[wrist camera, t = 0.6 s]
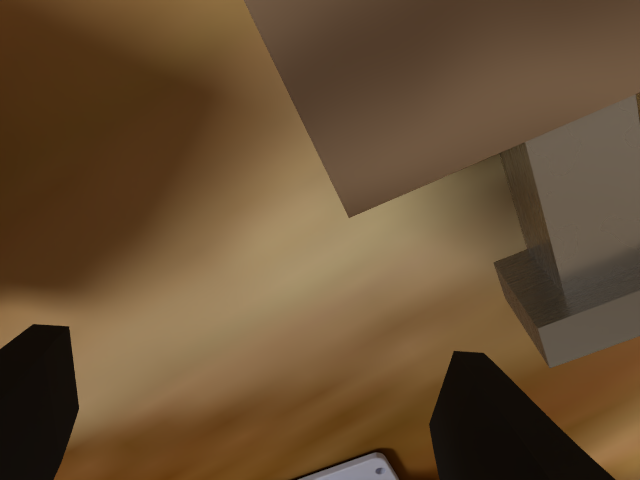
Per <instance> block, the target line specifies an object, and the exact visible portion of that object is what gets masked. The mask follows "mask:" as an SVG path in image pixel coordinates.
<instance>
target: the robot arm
mask: <svg viewBox="0 0 640 480" xmlns="http://www.w3.org/2000/svg"><path fill="white" fill-rule="evenodd" d="M78 410H79V404H78V396H77V388H76V379H75V371H74V363H73V355H72V347H71V339H70V330H69V326H53V325H37V324H33V325H32V326H30V327H29V328H28V329H26V330H25V331H23V332H22V333H21V334H20V335H18V336H17V337H16V338H14V339H13V340H12V341H10V342H9V343H8V344H6V345H5V346H4V347H2V348H1V349H0V480H53V479H54V477H55V475H56V473H57V471H58V468H59V466H60V464H61V461H62V459H63V456H64V453H65V450H66V447H67V444H68V441H69V438H70V435H71V432H72V429H73V426H74V423H75V420H76V417H77V413H78ZM429 426H430V432H431V438H432V444H433V449H434V455H435V460H436V464H437V469H438V474H439V478H440V480H615V479H614V478H613V477H612V476H611V475H610V474H609V473H608V472H606V471H605V470H604V469H603V468H602V467H601V466H600V465H599V464H597V463H596V462H595V461H594V460H593V459H592V458H591V457H590V456H589V455H588V454H587V453H586V452H584V451H583V450H582V449H581V448H580V447H579V446H578V445H577V444H576V443H575V442H574V441H573V440H572V439H571V438H570V437H569V436H567V435H566V434H565V433H564V432H563V431H562V430H561V429H560V428H559V427H558V426H557V425H556V424H555V423H554V422H553V421H552V420H551V419H550V418H549V417H548V416H547V415H546V414H545V413H544V412H543V411H542V410H541V409H540V408H539V407H538V406H537V405H536V404H535V403H534V402H533V401H532V400H531V399H530V398H529V397H528V396H527V395H526V394H525V393H524V392H523V391H522V390H521V389H520V388H519V387H518V386H517V385H516V384H515V383H514V382H513V381H512V380H511V379H510V378H509V377H508V376H507V375H506V374H505V373H504V372H503V371H502V370H501V369H500V368H499V367H498V366H497V365H496V364H495V363H494V362H493V361H492V360H491V359H490V358H488V357H487V356H486V355H485V354H484V353H476V352H460V351H454V352H453V355H452V358H451V361H450V364H449V367H448V370H447V373H446V376H445V379H444V382H443V385H442V388H441V391H440V394H439V397H438V400H437V403H436V406H435V409H434V412H433V415H432V418H431V420H430V423H429ZM298 480H399V478H398V477H397V475H396V473H395V472H394V470H393V468H392V467H391V465H390V463H389V462H388V460H387V458H386V457H385V456H384V455H383V454H382V453H377V452H375V453H371V454H369V455H366V456H363V457H360V458H357V459H354V460H352V461H349V462H346V463H343V464H340V465H337V466H334V467H332V468H329V469H326V470H323V471H320V472H317V473H315V474H312V475H309V476H306V477H303V478H300V479H298Z"/></svg>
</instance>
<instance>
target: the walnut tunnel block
mask: <svg viewBox="0 0 640 480" xmlns="http://www.w3.org/2000/svg"><path fill="white" fill-rule="evenodd" d="M244 2H245V4H246V6H247V8H248V10H249V12H250V14H251V16H252V18H253V20H254V22H255V24H256V26H257V28H258V31H259V33H260V35H261V37H262V39H263V41H264V43H265V45H266V47H267V49H268V51H269V53H270V55H271V57H272V60H273V62H274V64H275V66H276V68H277V70H278V72H279V74H280V76H281V78H282V80H283V82H284V84H285V86H286V88H287V91H288V93H289V95H290V97H291V99H292V101H293V103H294V105H295V107H296V109H297V111H298V113H299V115H300V117H301V120H302V122H303V124H304V126H305V128H306V130H307V132H308V134H309V136H310V138H311V140H312V142H313V144H314V146H315V149H316V151H317V153H318V155H319V157H320V159H321V161H322V163H323V165H324V167H325V169H326V171H327V173H328V175H329V177H330V180H331V182H332V184H333V186H334V188H335V190H336V192H337V194H338V196H339V198H340V200H341V202H342V204H343V206H344V209H345V211H346V213H347V215H348V217H349V218H350V217H352V216H355V215H357V214H359V213H362V212H364V211H366V210H369V209H371V208H373V207H376V206H378V205H380V204H383V203H385V202H387V201H390V200H392V199H394V198H396V197H399V196H401V195H403V194H406V193H408V192H410V191H413V190H415V189H417V188H420V187H422V186H424V185H427V184H429V183H431V182H434V181H436V180H438V179H441V178H443V177H445V176H447V175H450V174H452V173H454V172H457V171H459V170H461V169H464V168H466V167H468V166H471V165H473V164H475V163H478V162H480V161H482V160H485V159H487V158H489V157H492V156H494V155H496V154H498V153H501V152H503V151H505V150H508V149H510V148H512V147H515V146H517V145H519V144H522V143H524V142H526V141H529V140H531V139H533V138H536V137H538V136H540V135H543V134H545V133H547V132H549V131H552V130H554V129H556V128H559V127H561V126H563V125H566V124H568V123H570V122H573V121H575V120H577V119H580V118H582V117H584V116H587V115H589V114H591V113H594V112H596V111H598V110H600V109H603V108H605V107H607V106H610V105H612V104H614V103H617V102H619V101H621V100H624V99H626V98H628V97H631V96H633V95H635V94H638V93H640V0H244Z"/></svg>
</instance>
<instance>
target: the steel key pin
mask: <svg viewBox="0 0 640 480" xmlns="http://www.w3.org/2000/svg"><path fill="white" fill-rule="evenodd" d="M500 157H501V160H502V164H503V167H504V171H505V174H506V178H507V181H508V185H509V188H510V192H511V195H512V198H513V202H514V205H515V209H516V212H517V216H518V219H519V223H520V226H521V230H522V233H523V237H524V240H525V244H526V247H527V250H524V251H522V252H519V253H517V254H514V255H512V256H509V257H507V258H504V259H502V260H499V261H497V262H494V266H495V269H496V272H497V275H498V278H499V281H500V284H501V287H502V290H503V293H504V296H505V299H506V300H507V302H508V303H509V305H510V307H511V308H512V310H513V311H514V313H515V314H516V316H517V318H518V319H519V321H520V322H521V324H522V325H523V327H524V329H525V330H526V332H527V333H528V335H529V336H530V338H531V339H532V341H533V343H534V344H535V346H536V347H537V349H538V350H539V352H540V354H541V355H542V357H543V358H544V360H545V361H546V363H547V365H548V366H549V368H552V367H555V366H557V365H560V364H563V363H566V362H569V361H571V360H574V359H577V358H580V357H582V356H585V355H588V354H591V353H594V352H596V351H599V350H602V349H605V348H608V347H610V346H613V345H616V344H619V343H622V342H624V341H627V340H630V339H633V338H635V337H638V336H640V122H639V114H638V107H637V100H636V94H635V95H633V96H631V97H628V98H626V99H624V100H621V101H619V102H617V103H614V104H612V105H610V106H607V107H605V108H603V109H600V110H598V111H596V112H594V113H591V114H589V115H587V116H584V117H582V118H580V119H577V120H575V121H573V122H570V123H568V124H566V125H563V126H561V127H559V128H556V129H554V130H552V131H549V132H547V133H545V134H543V135H540V136H538V137H536V138H533V139H531V140H529V141H526V142H524V143H522V144H519V145H517V146H515V147H512V148H510V149H508V150H505V151H503V152H501V153H500Z"/></svg>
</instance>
